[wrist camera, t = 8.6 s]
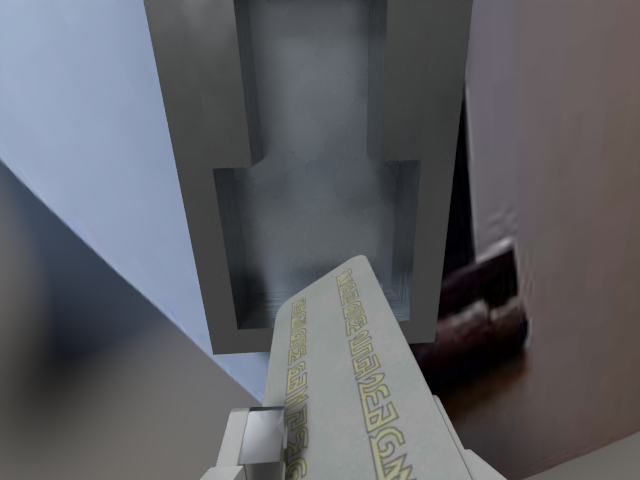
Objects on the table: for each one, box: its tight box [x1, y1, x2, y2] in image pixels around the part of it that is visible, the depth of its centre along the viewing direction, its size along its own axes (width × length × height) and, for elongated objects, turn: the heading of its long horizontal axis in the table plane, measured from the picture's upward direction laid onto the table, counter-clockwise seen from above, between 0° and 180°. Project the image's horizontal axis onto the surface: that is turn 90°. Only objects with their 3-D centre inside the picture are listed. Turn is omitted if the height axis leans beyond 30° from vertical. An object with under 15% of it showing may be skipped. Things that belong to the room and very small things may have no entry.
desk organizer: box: [144, 0, 473, 355], centre depth 20 cm, size 16×26×6 cm, turn 2°
